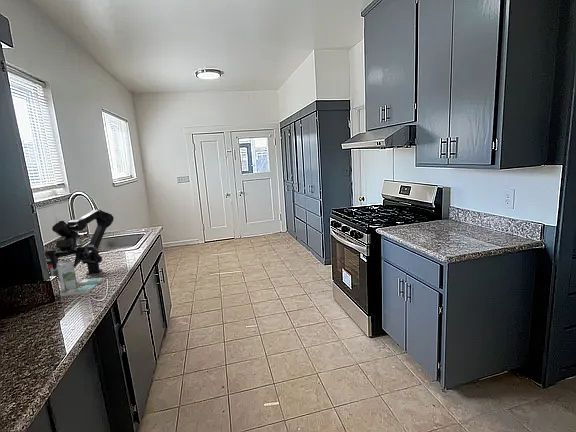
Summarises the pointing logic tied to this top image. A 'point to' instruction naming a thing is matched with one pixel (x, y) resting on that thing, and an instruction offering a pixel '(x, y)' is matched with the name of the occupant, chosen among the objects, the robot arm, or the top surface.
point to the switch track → (86, 289)
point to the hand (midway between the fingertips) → (64, 268)
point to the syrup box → (67, 275)
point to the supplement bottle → (51, 270)
